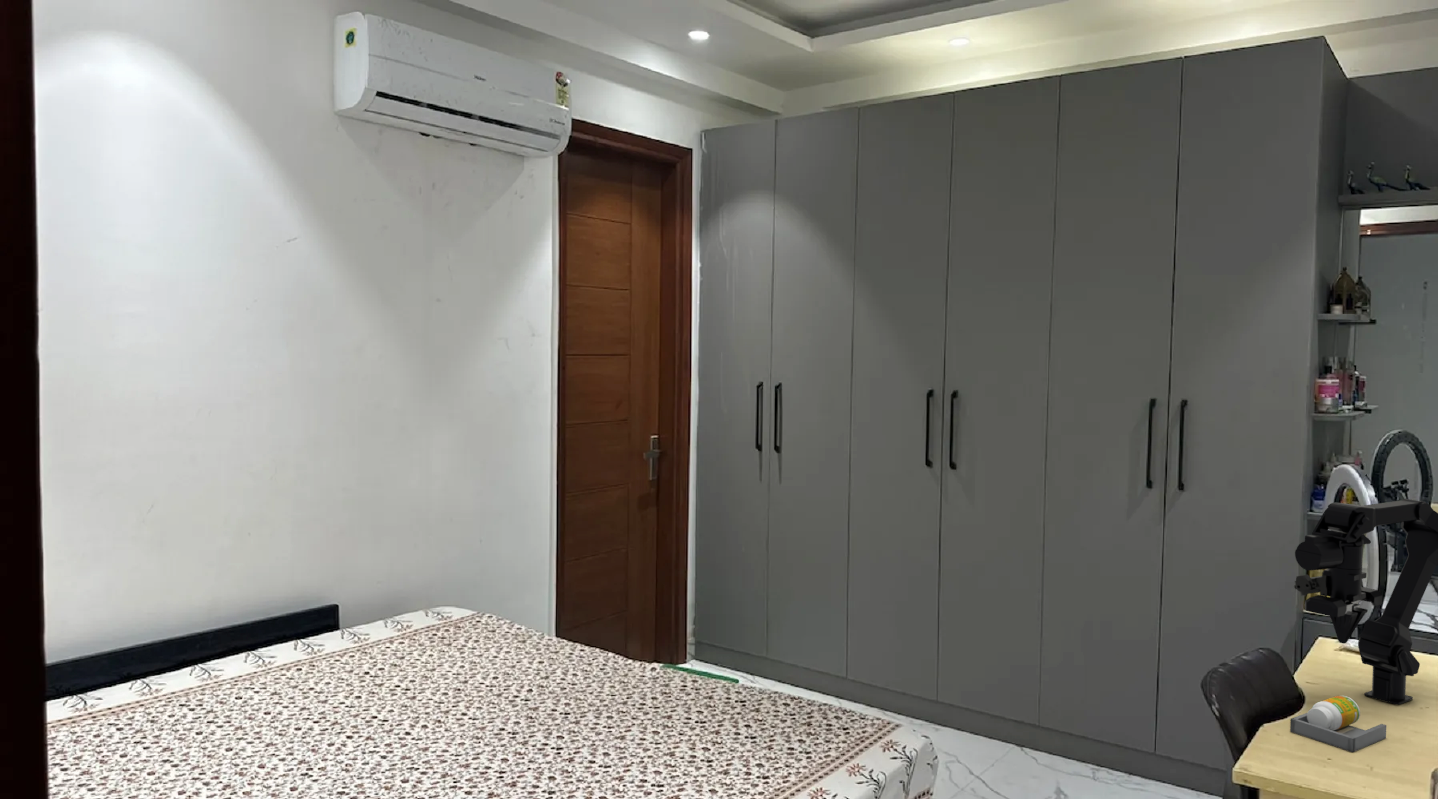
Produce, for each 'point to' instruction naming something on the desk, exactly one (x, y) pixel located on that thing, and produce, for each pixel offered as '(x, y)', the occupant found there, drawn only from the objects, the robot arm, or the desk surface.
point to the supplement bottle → (1334, 713)
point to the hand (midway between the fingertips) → (1342, 642)
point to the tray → (1338, 734)
